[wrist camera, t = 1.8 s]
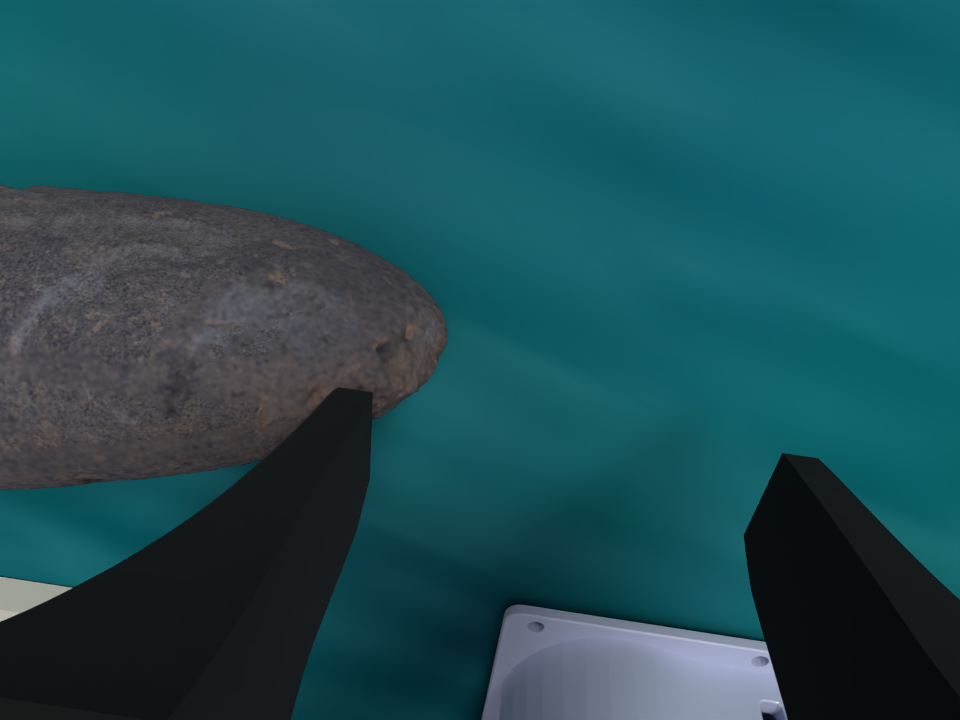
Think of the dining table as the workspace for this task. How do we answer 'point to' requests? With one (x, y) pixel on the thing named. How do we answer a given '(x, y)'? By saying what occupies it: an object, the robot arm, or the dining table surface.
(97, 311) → the perforated stone tool
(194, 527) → the robot arm
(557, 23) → the dining table surface
